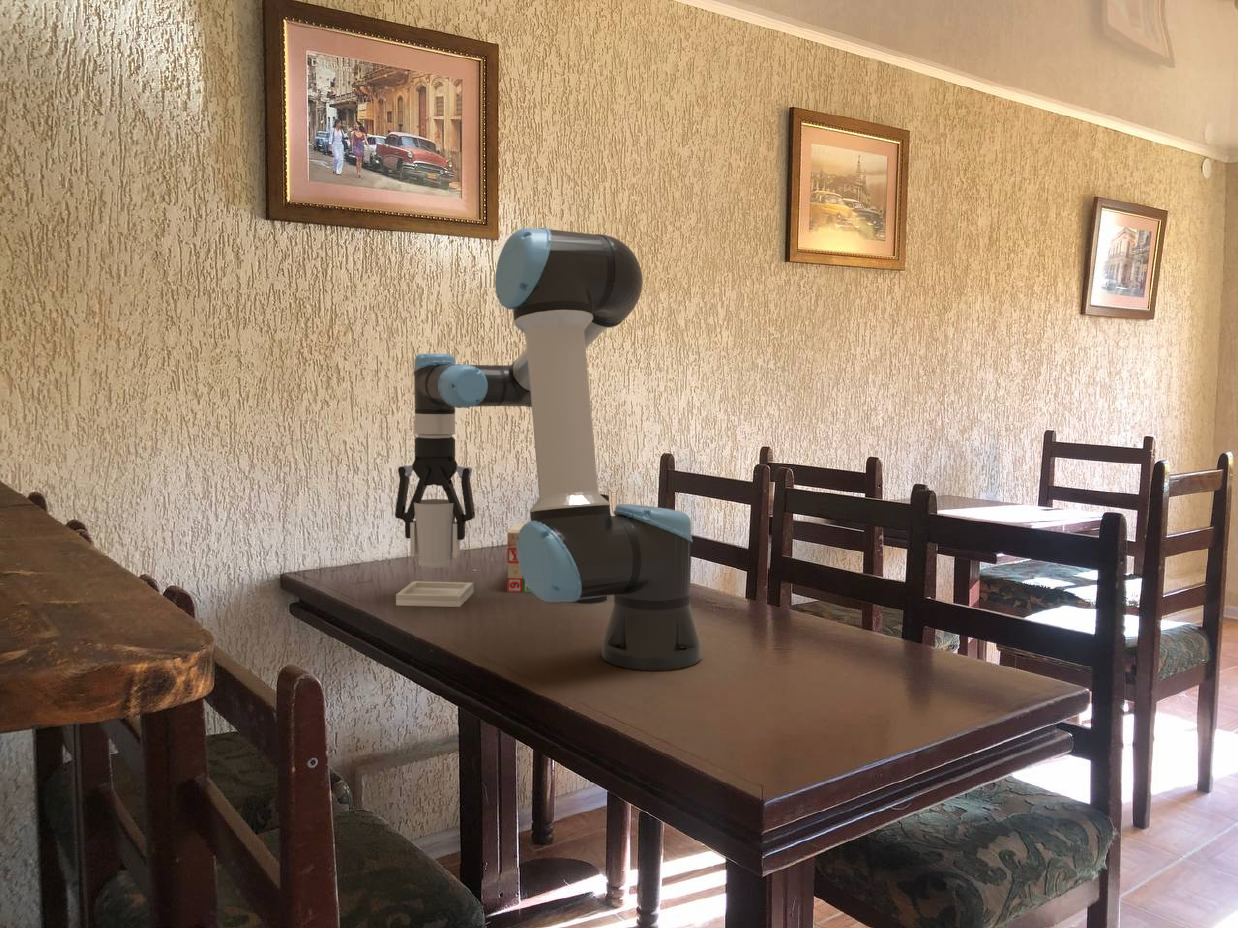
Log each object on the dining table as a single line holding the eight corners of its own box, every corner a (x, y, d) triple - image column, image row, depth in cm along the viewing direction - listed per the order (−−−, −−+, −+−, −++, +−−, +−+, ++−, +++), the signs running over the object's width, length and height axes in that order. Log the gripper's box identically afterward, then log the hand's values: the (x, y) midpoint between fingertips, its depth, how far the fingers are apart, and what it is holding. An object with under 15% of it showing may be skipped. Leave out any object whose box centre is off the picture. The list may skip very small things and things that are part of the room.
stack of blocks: (517, 571, 216) (517, 515, 215) (546, 571, 216) (546, 516, 215) (506, 593, 194) (507, 531, 193) (538, 593, 194) (538, 531, 193)
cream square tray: (460, 606, 182) (460, 596, 182) (395, 605, 182) (395, 594, 182) (473, 592, 194) (473, 582, 193) (413, 591, 194) (413, 581, 194)
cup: (447, 569, 183) (447, 505, 182) (407, 567, 185) (406, 503, 183) (462, 561, 191) (462, 499, 190) (423, 559, 192) (423, 498, 191)
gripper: (492, 435, 188) (491, 553, 191) (387, 433, 190) (388, 551, 192) (484, 438, 181) (484, 561, 183) (375, 436, 182) (376, 558, 184)
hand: (435, 555), depth 187 cm, fingers closed on cup, 7 cm apart
